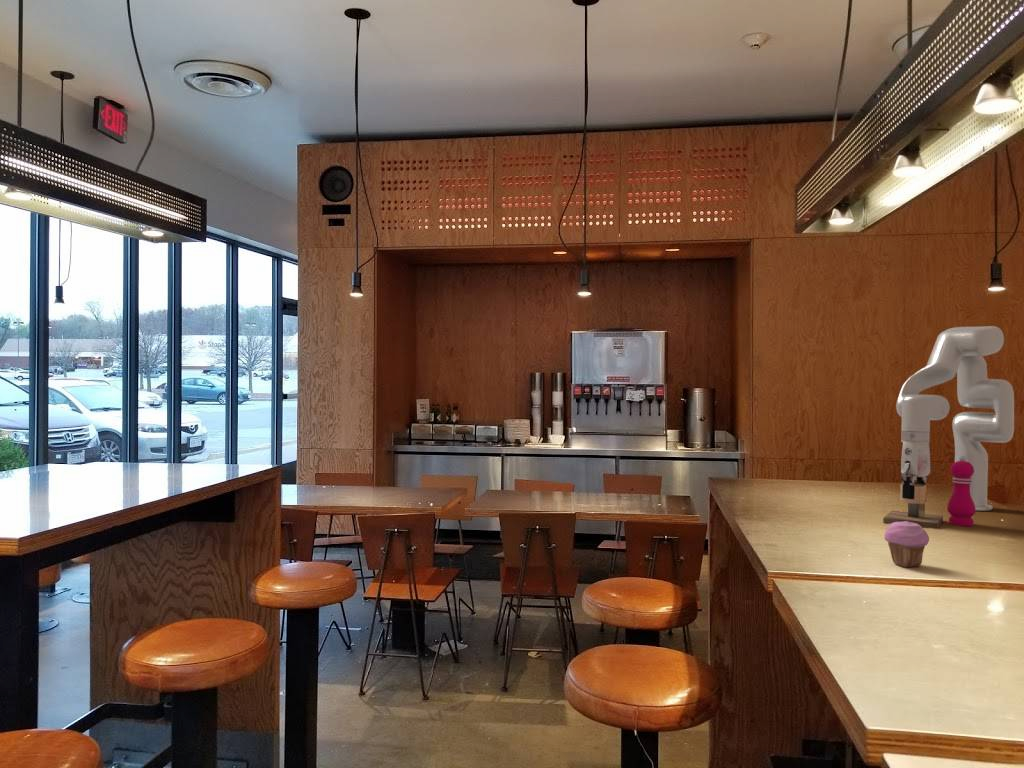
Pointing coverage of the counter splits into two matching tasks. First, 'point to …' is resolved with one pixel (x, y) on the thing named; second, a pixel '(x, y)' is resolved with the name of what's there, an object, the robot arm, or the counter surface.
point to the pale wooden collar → (916, 494)
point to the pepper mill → (961, 494)
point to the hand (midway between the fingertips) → (914, 497)
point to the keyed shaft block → (914, 516)
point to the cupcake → (906, 543)
